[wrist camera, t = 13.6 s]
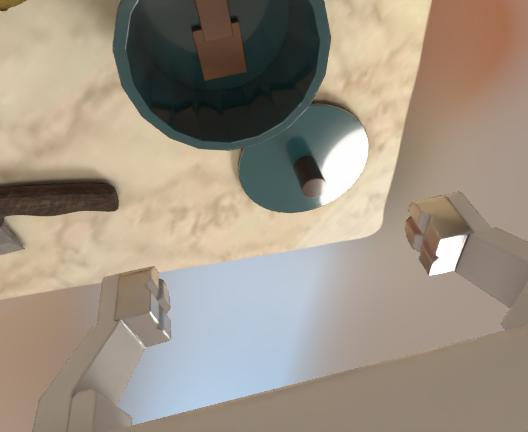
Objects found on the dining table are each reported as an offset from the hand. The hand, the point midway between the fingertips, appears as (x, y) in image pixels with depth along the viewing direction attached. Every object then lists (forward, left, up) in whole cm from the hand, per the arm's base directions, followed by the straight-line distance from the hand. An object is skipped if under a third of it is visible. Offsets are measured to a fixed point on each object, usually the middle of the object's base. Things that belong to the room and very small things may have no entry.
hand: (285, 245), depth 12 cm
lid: (+20, +7, -26) cm, 34 cm away
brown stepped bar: (+2, 0, -27) cm, 27 cm away
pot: (+2, 0, -27) cm, 27 cm away
